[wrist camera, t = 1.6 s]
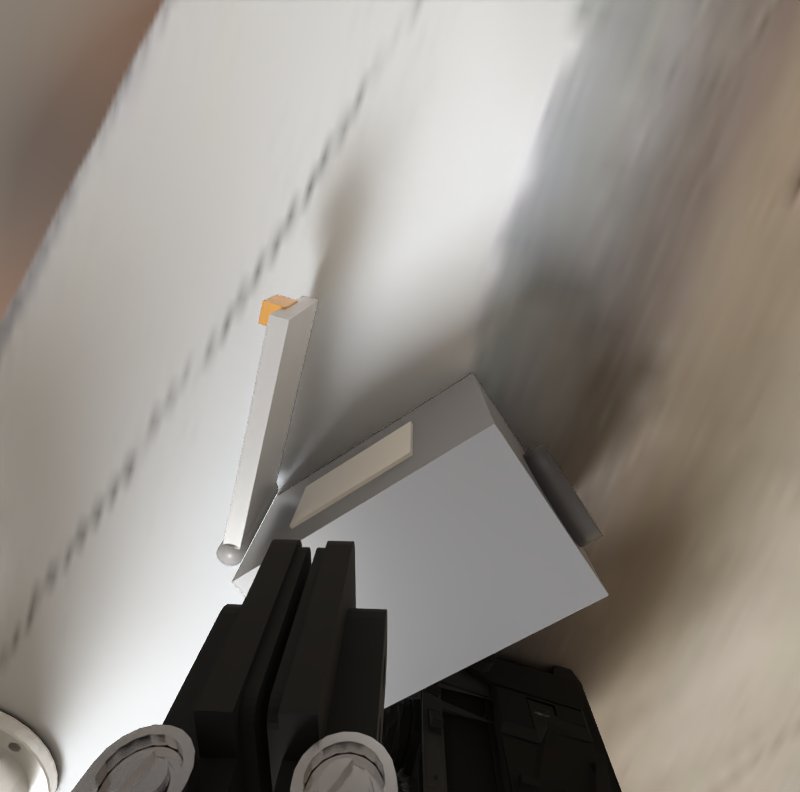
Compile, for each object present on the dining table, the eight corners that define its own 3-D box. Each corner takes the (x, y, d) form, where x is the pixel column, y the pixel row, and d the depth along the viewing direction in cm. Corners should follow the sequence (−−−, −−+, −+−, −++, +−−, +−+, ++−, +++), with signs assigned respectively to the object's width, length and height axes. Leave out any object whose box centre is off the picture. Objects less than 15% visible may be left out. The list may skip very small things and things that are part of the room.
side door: (275, 499, 30) (240, 568, 24) (245, 491, 30) (202, 559, 24) (322, 299, 26) (294, 319, 20) (288, 289, 26) (250, 306, 20)
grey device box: (371, 610, 33) (358, 721, 26) (274, 494, 31) (228, 578, 23) (578, 495, 30) (633, 583, 23) (489, 357, 28) (517, 404, 20)
